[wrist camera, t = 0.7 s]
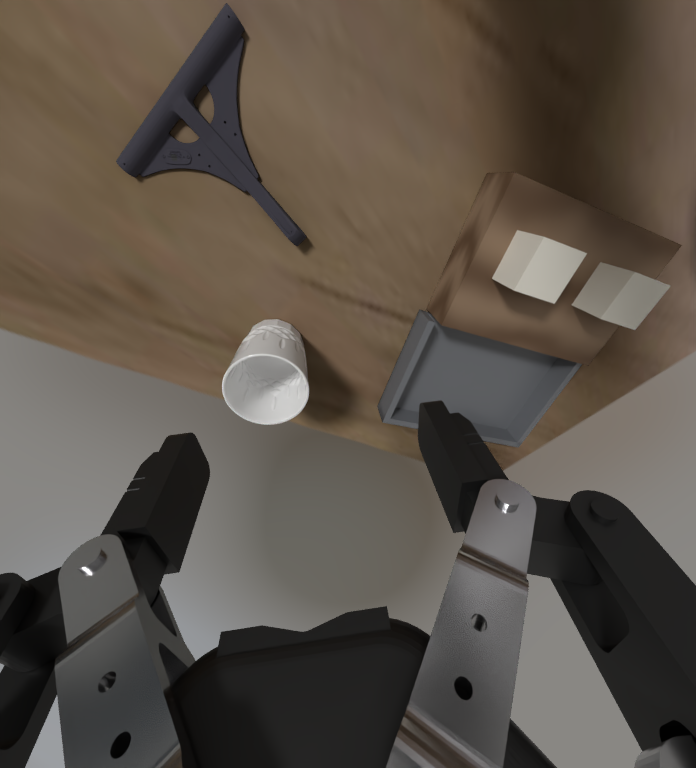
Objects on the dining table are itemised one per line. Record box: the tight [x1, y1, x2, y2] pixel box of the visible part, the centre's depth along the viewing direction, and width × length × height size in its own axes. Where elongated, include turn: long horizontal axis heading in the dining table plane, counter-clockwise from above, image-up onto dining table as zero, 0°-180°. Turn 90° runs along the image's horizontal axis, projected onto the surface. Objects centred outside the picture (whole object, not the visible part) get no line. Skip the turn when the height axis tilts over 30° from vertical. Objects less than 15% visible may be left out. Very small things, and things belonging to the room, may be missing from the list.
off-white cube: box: [572, 262, 670, 330], centre depth 32 cm, size 4×4×4 cm
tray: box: [378, 310, 582, 447], centre depth 42 cm, size 14×22×4 cm, turn 73°
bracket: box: [116, 3, 306, 246], centre depth 28 cm, size 14×15×3 cm
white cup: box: [222, 319, 309, 425], centre depth 34 cm, size 8×8×10 cm
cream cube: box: [492, 230, 587, 304], centre depth 29 cm, size 4×4×4 cm
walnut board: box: [427, 172, 682, 366], centre depth 35 cm, size 14×20×5 cm
